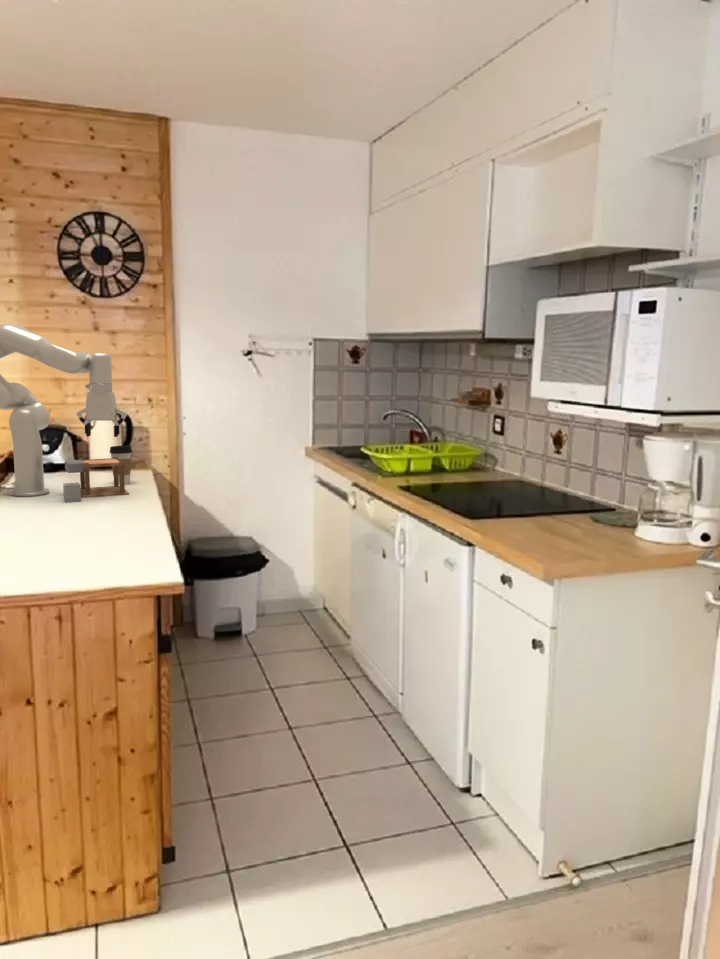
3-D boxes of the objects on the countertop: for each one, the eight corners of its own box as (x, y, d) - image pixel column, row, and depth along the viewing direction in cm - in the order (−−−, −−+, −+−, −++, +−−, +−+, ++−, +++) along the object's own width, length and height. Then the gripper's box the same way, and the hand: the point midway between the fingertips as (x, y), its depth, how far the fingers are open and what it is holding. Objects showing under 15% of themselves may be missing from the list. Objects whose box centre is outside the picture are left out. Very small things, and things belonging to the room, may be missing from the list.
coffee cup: (129, 485, 291) (127, 447, 289) (107, 484, 291) (106, 446, 289) (136, 481, 299) (134, 444, 297) (115, 481, 299) (113, 444, 297)
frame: (76, 498, 264) (75, 464, 262) (71, 490, 279) (69, 458, 277) (129, 494, 272) (128, 461, 270) (120, 487, 287) (119, 456, 285)
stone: (65, 502, 256) (64, 485, 255) (63, 500, 260) (63, 483, 259) (81, 501, 258) (80, 484, 257) (79, 499, 262) (78, 482, 261)
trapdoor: (68, 473, 265) (68, 464, 264) (65, 469, 273) (64, 460, 273) (120, 470, 273) (120, 461, 272) (116, 466, 281) (115, 458, 281)
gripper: (72, 388, 260) (74, 437, 263) (123, 389, 262) (124, 437, 264) (79, 387, 268) (80, 434, 270) (128, 388, 269) (129, 435, 272)
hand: (102, 436), depth 267 cm, fingers open, 9 cm apart
